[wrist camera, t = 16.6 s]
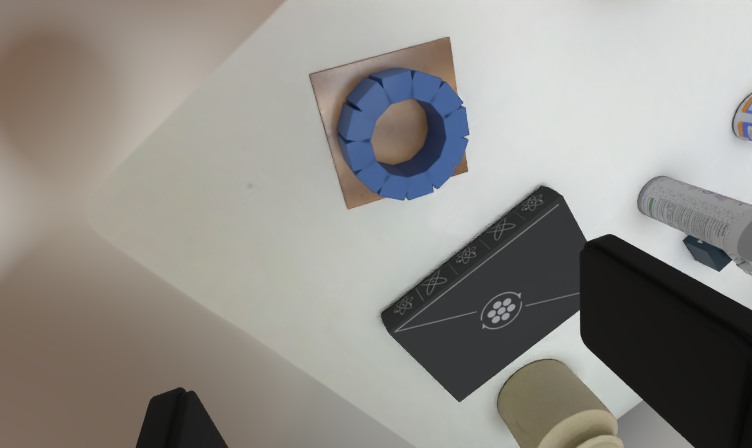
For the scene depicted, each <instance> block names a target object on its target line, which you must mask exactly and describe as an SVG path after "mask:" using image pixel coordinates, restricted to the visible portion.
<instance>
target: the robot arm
mask: <svg viewBox="0 0 752 448" xmlns="http://www.w3.org/2000/svg"><path fill="white" fill-rule="evenodd" d="M579 262H580V334H581V338H582V340H583V342H584V344H585V345H586V347H587V348H588V349H589V350H590V351H591V352H592V353H594V354H595V355H596V356H597V357H598V358H599V359H600V360H601V361H602V362H603V363H604V364H605V365H606V366H608V367H609V368H610V369H611V370H612V371H613V372H614V373H615V374H616V375H617V376H618V377H619V378H620V379H621V380H623V381H624V382H625V383H626V384H627V385H628V386H629V387H630V388H631V389H632V390H633V391H634V392H635V393H637V394H638V395H639V396H640V397H641V398H642V399H643V400H644V401H645V402H646V403H647V404H648V405H649V406H651V407H652V408H653V409H654V410H655V411H656V412H657V413H658V414H659V415H660V416H661V417H662V418H663V419H665V420H666V421H667V422H668V423H669V424H670V425H671V426H672V427H673V428H674V429H675V430H676V431H677V432H679V433H680V434H681V435H682V436H683V437H684V438H685V439H686V440H687V441H688V442H689V443H690V444H691V445H692V446H693V447H695V448H752V310H751V309H749V308H747V307H745V306H743V305H741V304H740V303H738V302H736V301H734V300H732V299H730V298H729V297H727V296H725V295H723V294H721V293H719V292H718V291H716V290H714V289H712V288H710V287H708V286H707V285H705V284H703V283H701V282H699V281H697V280H696V279H694V278H692V277H690V276H688V275H686V274H685V273H683V272H681V271H679V270H677V269H675V268H674V267H672V266H670V265H668V264H666V263H664V262H662V261H661V260H659V259H657V258H655V257H653V256H651V255H650V254H648V253H646V252H644V251H642V250H640V249H639V248H637V247H635V246H633V245H631V244H629V243H628V242H626V241H624V240H622V239H620V238H618V237H617V236H615V235H612V234H607V235H604V236H601V237H599V238H596V239H593V240H590V241H588V242H586V243H585V245H584V248H583V250H581V252H580V255H579ZM136 448H228V446H227V445H226V443H225V441H224V440H223V438H222V436H221V435H220V433H219V431H218V430H217V428H216V426H215V425H214V423H213V421H212V420H211V418H210V416H209V415H208V413H207V411H206V410H205V408H204V406H203V404H202V403H201V401H200V399H199V398H198V396H197V394H196V393H195V392H194V391H189V392H186V391H185V389H183V388H181V387H180V388H176V389H174V390H171V391H168V392H165V393H163V394H160V395H157V396H154V397H153V398H152V399H151V400H150V402H149V405H148V408H147V412H146V415H145V418H144V422H143V425H142V429H141V432H140V435H139V438H138V442H137V445H136Z"/></svg>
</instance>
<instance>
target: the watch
mask: <svg viewBox="0 0 752 448" xmlns="http://www.w3.org/2000/svg"><path fill="white" fill-rule="evenodd" d="M683 242H684V243H685V245H686V246H687V248H688V249H689V251H690V252H691V254H692V256H693V257H694V259H695V260H696V261H698V262H701V263H703V264H705V265H707V266H709V267H711V268H713V269H715V270H717V271H719V272H720V271H721V270H722V269H723V268H724V267H725V266H726V265H727V264H728V263H730V262H731V261H732V260H733V261H734V262H735V263H737V264H736V265H737V266H738V267H739V268H741V269H742V270H743V271H744V272H745V273H747V274H750V275H751V276H752V262H750V261H748V260H746V259H743V258H741V257H739V256H736V255H734V254H731V253H729V252H727V251H725V250H722V249H720V248H718V247H716V246H714V245H711V244H709V243H707V242H705V241H702V240H700V239H698V238H696V237H694V236H691V235H689V236H688V237H687V238H686V239H685V240H683Z"/></svg>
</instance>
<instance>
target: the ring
mask: <svg viewBox="0 0 752 448" xmlns="http://www.w3.org/2000/svg"><path fill="white" fill-rule="evenodd" d="M369 78H370V79H368V78H364V79H363V80H362V81H361V82H360V83H359V84H358V85H357V86H356V87H355V88H354V89H353V91H352V92H351V93H350V94H349V95H348V96H347V97H346V99H347V100H348V101H349V102H350V103H351V104H348V103H343V106H342V110H341V114H340V118H339V122H338V126H337V130H338V131H339V132H340V133H339V134H337V137H338V141H339V144H340V148H341V151H342V155H343V158H344V160H345V161H346V163H347V165H348V166H349V168H350V169H351V170H352V172H353V173H354V174H355V176H356V177H357V178H358V179H359V180H360V181H361V182H362V183H364V184H365V185H366V186H367V187H368V188H369V189H370V190H371V191H372V192H373V193H376V192H377V194H378V195H379V196H382V197H388V198H393V199H398V200H405V197H406V198H407V199H408V200H411V199H414V198H417V197H420V196H423V195H426V194H429V193H432V192H434V191H433V186H434V187H435V188H436V189H439V188H440V187H441V186H442V185H443V184H444V183H445V182H446V181H447V180H448V179H449V178H450V177H451V176H452V175H453V174H454V173H455V172H456V168H455V167H454V166H453V165H457V166H460V163H461V160H462V157H463V155H464V152H465V149H466V146H467V143H468V139H467V138H464V136H467V135H469V129H468V122H467V115H466V108H465V107H463V106H461V105H462V104H463V102H462V100H461V99H460V98H459V97H458V95H457V94H456V93H455V92H454V90H453V89H452V88H451V87H450V85H449V84H448V83H447V82H446V81H442V78H439V77H436V76H433V75H430V74H426V73H423V72H420V71H417V70H412V69H406V68H395V67H394V68H390V69H387V70H384V71H380V72H377V73H373V74H370V75H369ZM411 98H412V99H415V100H416V101H417V102H418V103H419V104H420V106H421V107H422V108H423V109H424V110H425V112H426V117H427V123H428V128H429V130H428V133H427V136H426V140H425V143H424V146H423V147H422V149H421V150H420V151H419V152H418V153H417V154H416V155H415V156H414V157H413V158H412V159H411V160H408V161H405V162H402V163H399V164H396V165H391V164H387V163H382V162H378V161H376V159H375V155H374V151H373V147H372V143H371V138H372V135H373V131H374V127H375V124H376V120H377V119H378V118H379V117H380V116H381V115H382V114H383V113H384V112H385V111H386V110H387V109H388V107H389V106H390V105H391V104H394V103H398V102H401V101H404V100H408V99H411ZM452 164H453V165H452Z"/></svg>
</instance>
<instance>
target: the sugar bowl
mask: <svg viewBox="0 0 752 448" xmlns="http://www.w3.org/2000/svg"><path fill="white" fill-rule="evenodd" d="M498 410H499V413H500V415H501V417H502V418H503V420H504V422H505V423H506V425H507V426H508V428H509V430H510V431H511V433H512V435H513V436H514V438H515V440H516V441H517V443H518V444H519V446H520V447H521V448H624V445H623V442H622V440H621V439H619V438H618V437H617V436H616V435H617V430H618V425H617V420H616V418H615V417H614V415H613V414H612V413H611V412H610V411H609V410H608V409H607V407H606V406H605V405H604V404H603V403H602V402H601V401H600V400H599V399H598V398H597V396H596V395H595V394H594V393H593V392H592V391H591V390H590V389H589V388H588V387H587V386H586V385H585V384H584V383H583V382H582V381H581V380H580V379H579V378H578V377H577V376H576V375H575V374H574V373H573V372H572V371H571V370H570V369H569V368H568V367H567V366H566V365H565V364H563V363H561V362H559V361H556V360H541V361H537V362H534V363H531V364H528V365H527V366H525V367H523V368H521V369H520V370H519V371H517V372H516V373H515V374H514V375H513V376H512V377H511V378H510V379H509V380H508V381H507V382H506V384H505V385H504V387H503V388H502V390H501V392H500V395H499V399H498Z"/></svg>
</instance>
